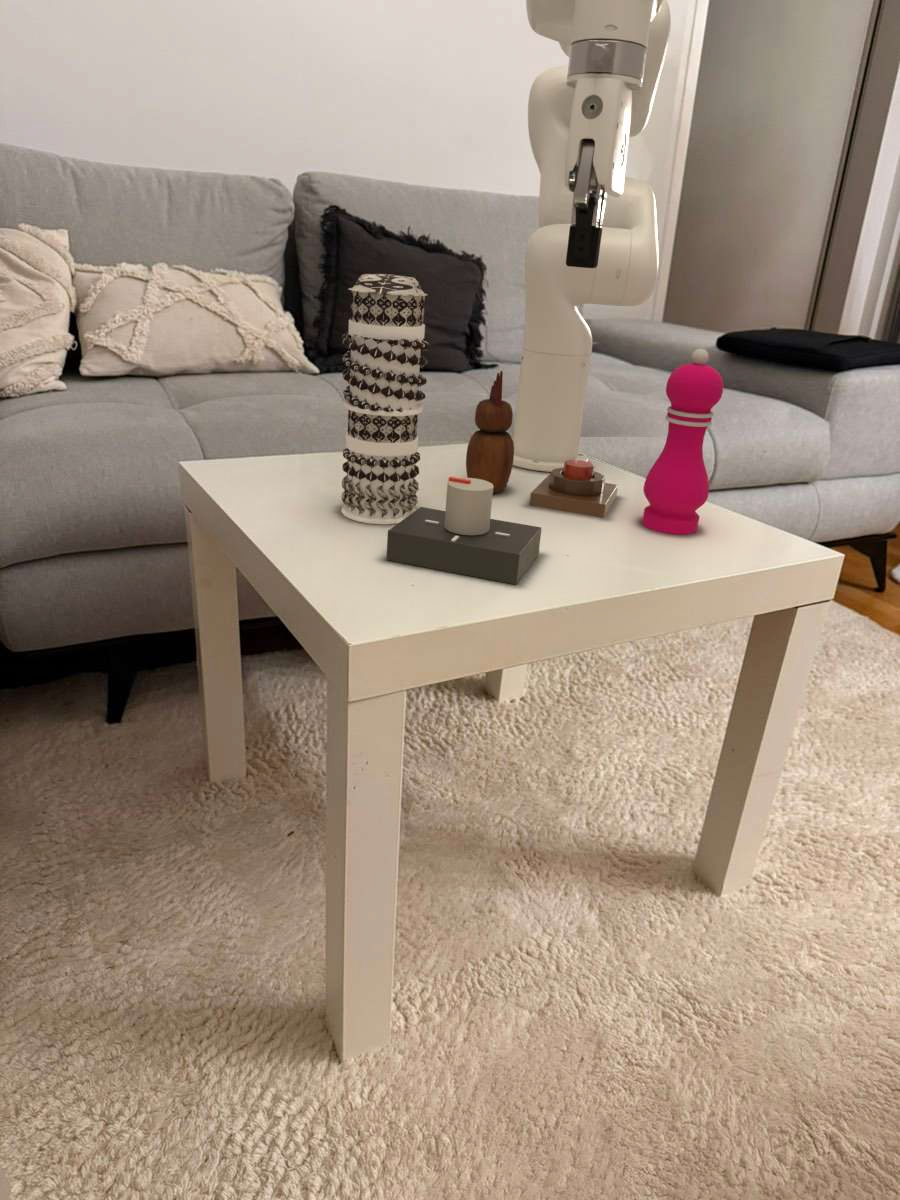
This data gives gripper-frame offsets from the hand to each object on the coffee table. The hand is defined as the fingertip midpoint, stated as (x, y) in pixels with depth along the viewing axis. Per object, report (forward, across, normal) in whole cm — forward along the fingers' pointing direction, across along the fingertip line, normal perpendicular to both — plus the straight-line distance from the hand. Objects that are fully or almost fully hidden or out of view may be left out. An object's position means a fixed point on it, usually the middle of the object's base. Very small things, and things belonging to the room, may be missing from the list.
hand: (581, 266), depth 92 cm
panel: (+27, -22, +4) cm, 35 cm away
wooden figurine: (+27, +3, +9) cm, 29 cm away
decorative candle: (+27, -13, +17) cm, 35 cm away
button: (+24, +4, -2) cm, 24 cm away
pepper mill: (+27, 0, -14) cm, 31 cm away
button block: (+27, +4, -2) cm, 27 cm away
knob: (+24, -22, +4) cm, 33 cm away
